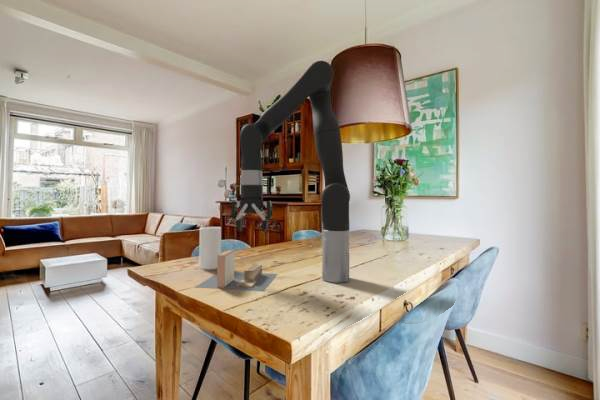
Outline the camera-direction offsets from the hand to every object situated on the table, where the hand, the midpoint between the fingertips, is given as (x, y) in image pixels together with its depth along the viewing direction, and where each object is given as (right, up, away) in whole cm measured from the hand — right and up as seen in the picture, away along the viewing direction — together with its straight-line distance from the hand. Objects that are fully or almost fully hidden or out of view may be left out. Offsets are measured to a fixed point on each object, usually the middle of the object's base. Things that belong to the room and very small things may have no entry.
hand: (251, 231), depth 96 cm
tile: (-7, -16, -6) cm, 19 cm away
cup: (-20, -17, +16) cm, 30 cm away
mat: (-4, -17, -2) cm, 17 cm away
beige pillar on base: (0, -16, -2) cm, 16 cm away
